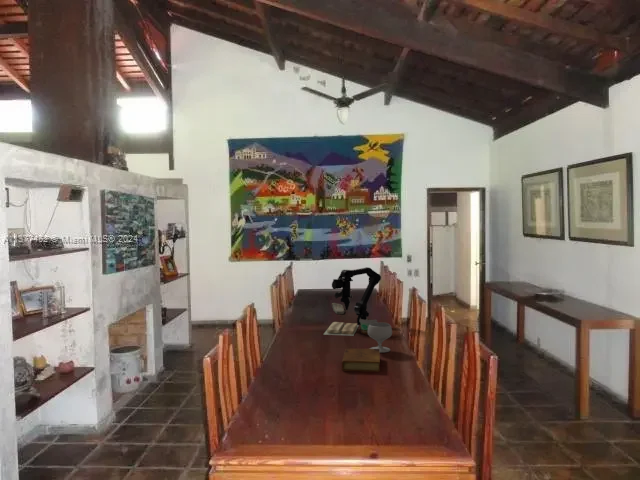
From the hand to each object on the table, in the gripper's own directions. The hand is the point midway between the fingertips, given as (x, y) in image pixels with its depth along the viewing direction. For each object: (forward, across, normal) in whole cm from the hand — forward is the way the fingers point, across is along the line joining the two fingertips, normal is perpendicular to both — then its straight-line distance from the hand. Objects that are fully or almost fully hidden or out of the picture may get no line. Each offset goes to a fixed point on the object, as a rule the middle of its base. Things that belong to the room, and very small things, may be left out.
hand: (346, 309), depth 334 cm
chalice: (+12, +58, +26) cm, 65 cm away
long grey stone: (+13, -59, -15) cm, 62 cm away
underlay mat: (+12, +12, -2) cm, 17 cm away
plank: (+11, +12, -6) cm, 17 cm away
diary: (+12, +86, +18) cm, 89 cm away
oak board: (+12, +12, +3) cm, 17 cm away
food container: (+12, +21, +16) cm, 29 cm away
